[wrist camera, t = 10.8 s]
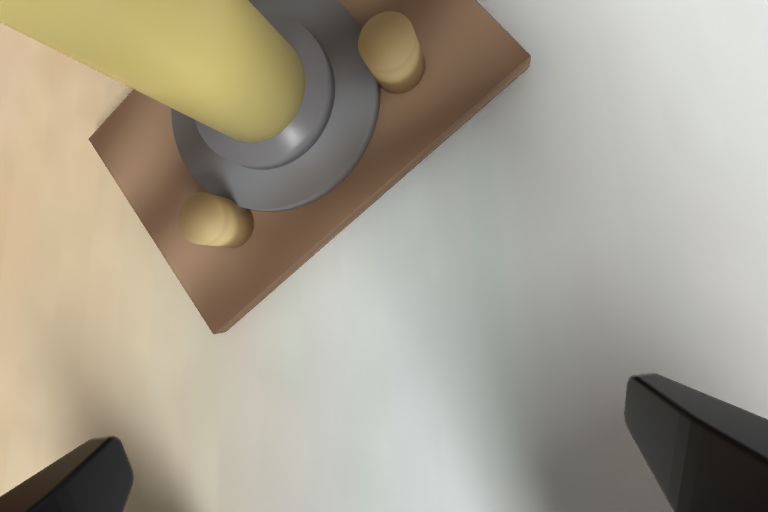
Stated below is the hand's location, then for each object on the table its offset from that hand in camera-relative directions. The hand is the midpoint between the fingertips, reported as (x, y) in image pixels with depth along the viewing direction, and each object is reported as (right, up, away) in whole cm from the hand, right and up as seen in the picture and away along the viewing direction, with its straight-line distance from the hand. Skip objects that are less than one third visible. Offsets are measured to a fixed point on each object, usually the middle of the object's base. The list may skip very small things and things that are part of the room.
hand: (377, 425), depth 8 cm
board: (-5, +11, +15) cm, 19 cm away
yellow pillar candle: (-6, +11, +13) cm, 18 cm away
